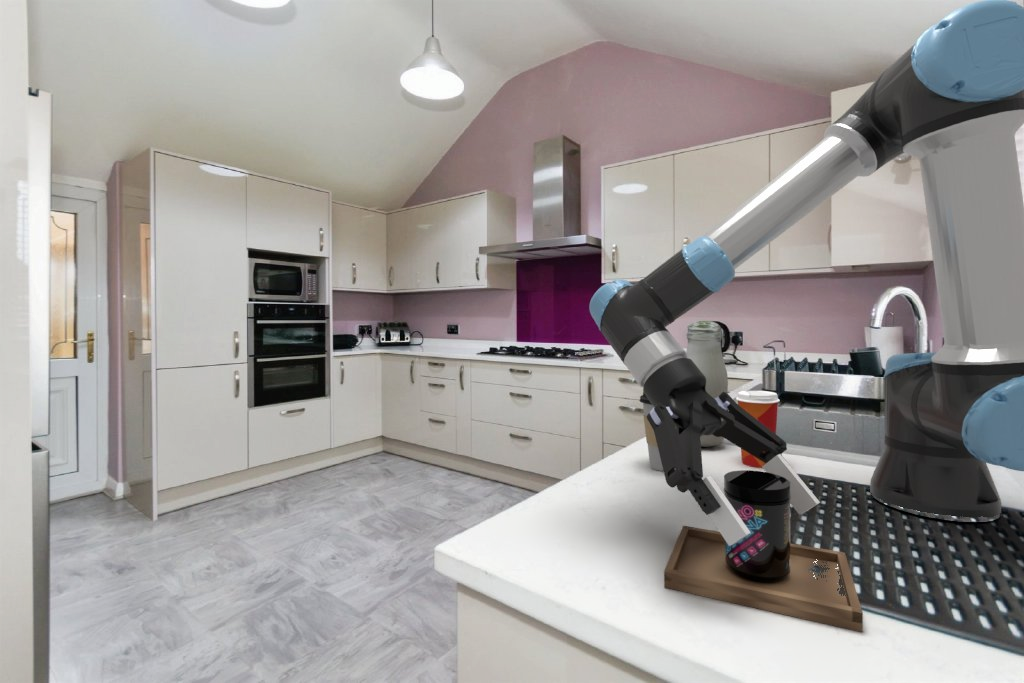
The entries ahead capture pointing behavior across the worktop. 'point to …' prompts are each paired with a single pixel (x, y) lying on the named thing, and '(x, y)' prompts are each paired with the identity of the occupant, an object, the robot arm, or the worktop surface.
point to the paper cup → (759, 416)
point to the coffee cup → (651, 436)
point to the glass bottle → (708, 363)
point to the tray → (798, 595)
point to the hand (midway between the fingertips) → (777, 523)
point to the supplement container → (760, 525)
